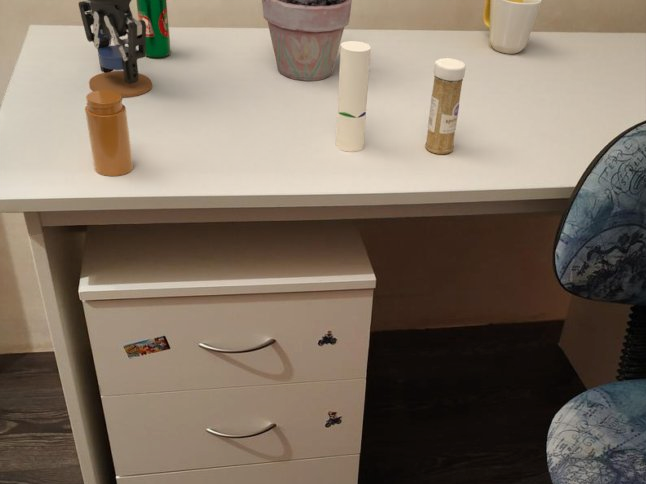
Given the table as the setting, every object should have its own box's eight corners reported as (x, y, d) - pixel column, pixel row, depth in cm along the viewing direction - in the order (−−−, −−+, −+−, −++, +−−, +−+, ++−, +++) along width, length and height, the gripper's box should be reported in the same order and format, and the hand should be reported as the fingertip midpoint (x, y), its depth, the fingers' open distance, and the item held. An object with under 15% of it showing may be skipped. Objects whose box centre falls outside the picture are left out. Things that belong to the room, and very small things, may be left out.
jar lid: (123, 54, 135) (122, 42, 133) (143, 64, 132) (142, 52, 131) (92, 61, 131) (90, 49, 130) (112, 72, 128) (111, 60, 127)
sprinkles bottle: (450, 157, 125) (463, 70, 116) (421, 152, 125) (432, 64, 116) (455, 145, 128) (468, 59, 119) (427, 140, 129) (438, 54, 120)
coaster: (115, 102, 129) (114, 98, 128) (76, 83, 133) (76, 80, 132) (164, 87, 135) (164, 84, 135) (126, 70, 139) (126, 66, 139)
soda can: (136, 51, 146) (128, -20, 138) (161, 47, 149) (155, -23, 141) (151, 60, 143) (144, -12, 135) (176, 56, 146) (170, -15, 138)
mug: (539, 57, 164) (551, 2, 157) (494, 58, 161) (504, 3, 154) (510, 34, 173) (520, -18, 167) (467, 35, 170) (475, -18, 163)
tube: (332, 140, 125) (336, 41, 116) (357, 138, 127) (364, 40, 117) (341, 152, 123) (346, 52, 113) (367, 150, 124) (375, 50, 114)
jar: (110, 179, 110) (99, 107, 103) (86, 166, 112) (74, 95, 105) (141, 168, 113) (132, 97, 106) (117, 155, 115) (107, 85, 108)
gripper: (156, -27, 121) (166, 84, 132) (96, -50, 127) (111, 59, 138) (114, -20, 116) (129, 95, 128) (54, -43, 123) (73, 69, 134)
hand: (119, 76), depth 133 cm, fingers closed on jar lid, 5 cm apart
